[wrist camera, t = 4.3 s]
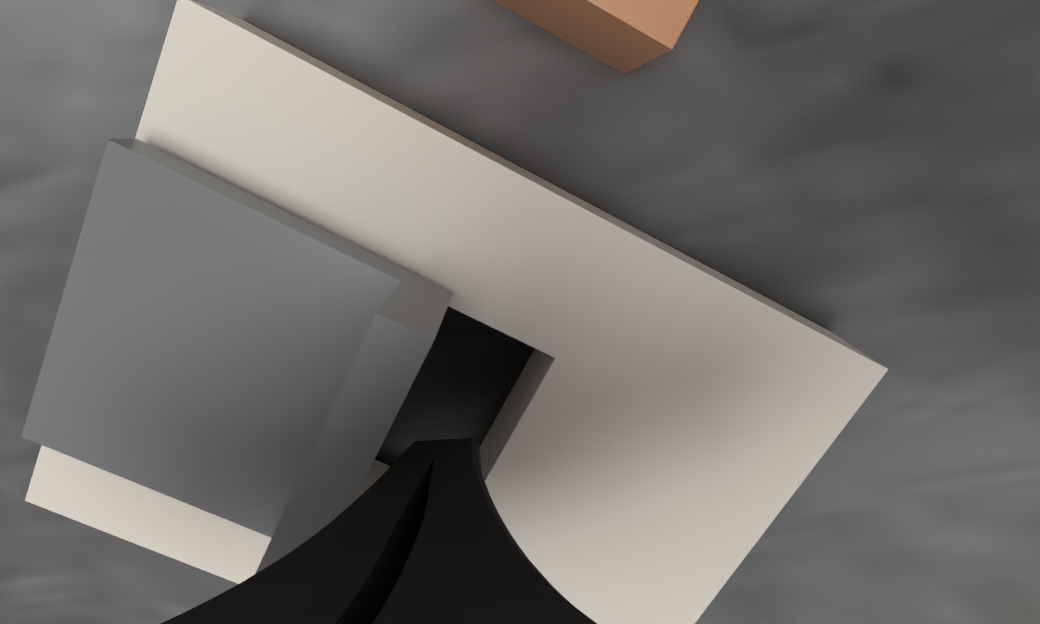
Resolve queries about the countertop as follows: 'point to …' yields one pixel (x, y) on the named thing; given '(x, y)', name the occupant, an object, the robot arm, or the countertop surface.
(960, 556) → the countertop surface
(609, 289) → the socket board
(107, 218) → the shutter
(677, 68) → the countertop surface
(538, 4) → the plug
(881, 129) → the countertop surface
